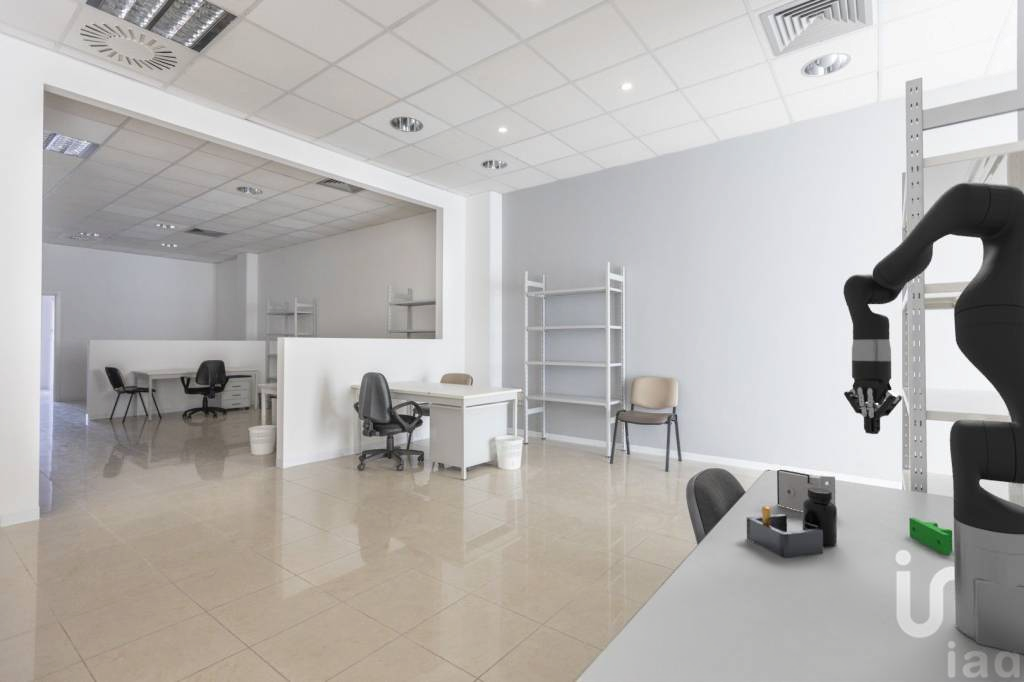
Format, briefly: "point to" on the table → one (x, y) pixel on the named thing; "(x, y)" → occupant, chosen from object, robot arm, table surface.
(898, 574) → the table surface
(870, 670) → the table surface
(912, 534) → the pipe clamp
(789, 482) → the hinge
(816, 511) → the supplement bottle
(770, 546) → the keeper cradle
